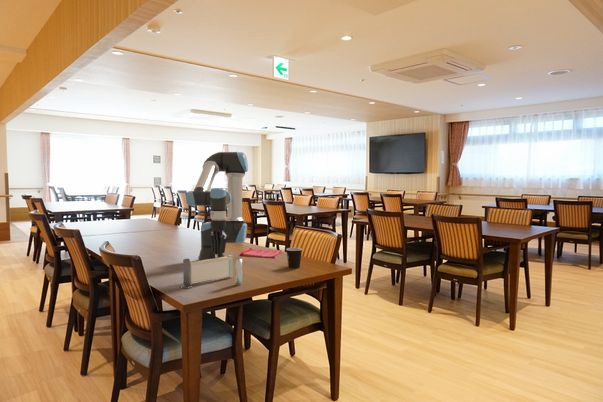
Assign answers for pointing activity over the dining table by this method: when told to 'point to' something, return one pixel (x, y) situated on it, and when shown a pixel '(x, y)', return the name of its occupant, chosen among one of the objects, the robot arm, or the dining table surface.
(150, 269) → the dining table surface
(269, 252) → the dish towel
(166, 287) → the dining table surface
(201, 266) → the gate
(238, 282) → the gate posts
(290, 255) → the coffee mug
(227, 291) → the dining table surface
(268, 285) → the dining table surface
